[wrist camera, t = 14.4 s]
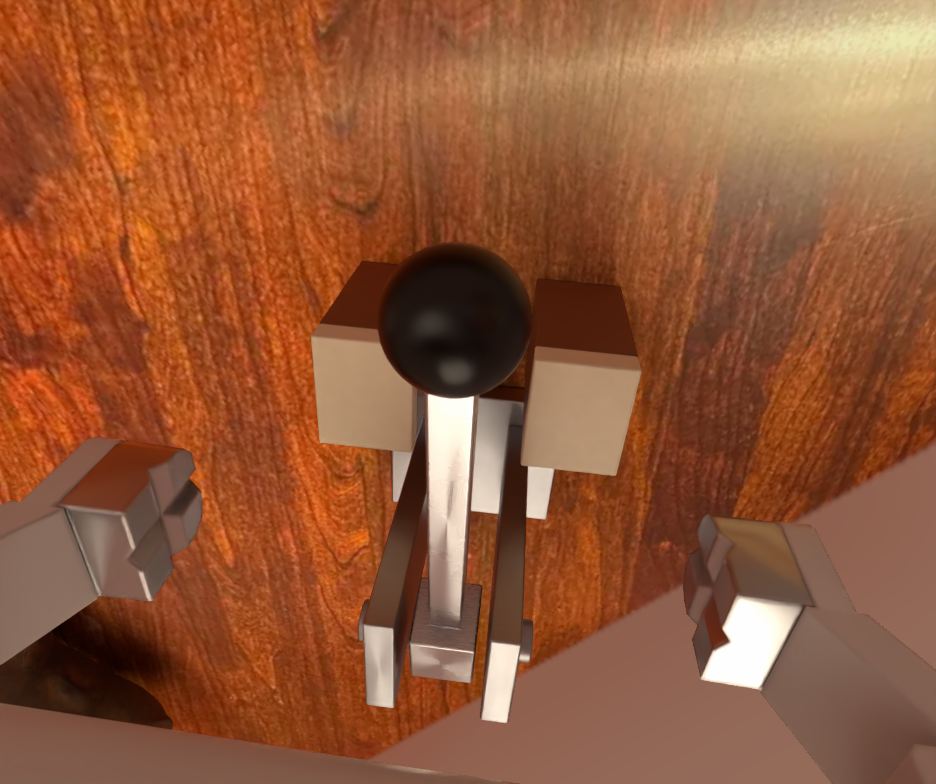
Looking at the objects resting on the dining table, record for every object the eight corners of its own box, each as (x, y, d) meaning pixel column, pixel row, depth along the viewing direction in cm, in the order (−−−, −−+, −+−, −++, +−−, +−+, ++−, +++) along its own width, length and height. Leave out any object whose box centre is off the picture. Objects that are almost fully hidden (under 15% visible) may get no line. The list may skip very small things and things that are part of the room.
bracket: (396, 374, 30) (312, 590, 19) (565, 392, 29) (577, 623, 19) (396, 486, 34) (325, 719, 23) (546, 504, 33) (546, 750, 22)
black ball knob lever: (389, 205, 12) (352, 298, 10) (543, 219, 12) (538, 317, 10) (412, 603, 24) (397, 683, 22) (489, 613, 24) (482, 694, 22)
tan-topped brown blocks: (620, 286, 26) (642, 370, 20) (602, 377, 29) (616, 476, 23) (361, 260, 27) (309, 335, 21) (364, 352, 29) (319, 443, 24)
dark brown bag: (145, 734, 50) (87, 841, 44) (-114, 600, 44) (-225, 702, 38) (224, 672, 45) (170, 785, 38) (-60, 510, 39) (-180, 611, 32)
